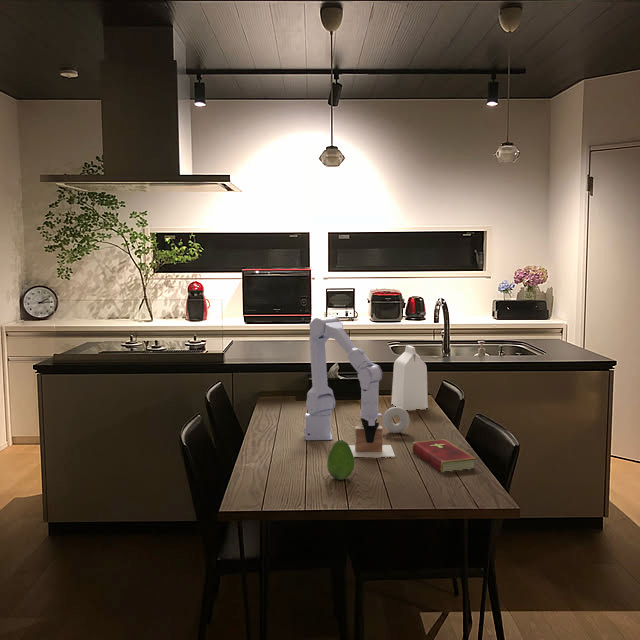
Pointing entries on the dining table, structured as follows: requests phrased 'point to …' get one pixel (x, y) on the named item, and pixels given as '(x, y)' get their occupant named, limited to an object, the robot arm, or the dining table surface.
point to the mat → (386, 452)
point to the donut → (391, 413)
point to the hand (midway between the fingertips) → (369, 440)
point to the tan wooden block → (361, 441)
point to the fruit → (340, 460)
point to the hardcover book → (443, 455)
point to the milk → (409, 381)
